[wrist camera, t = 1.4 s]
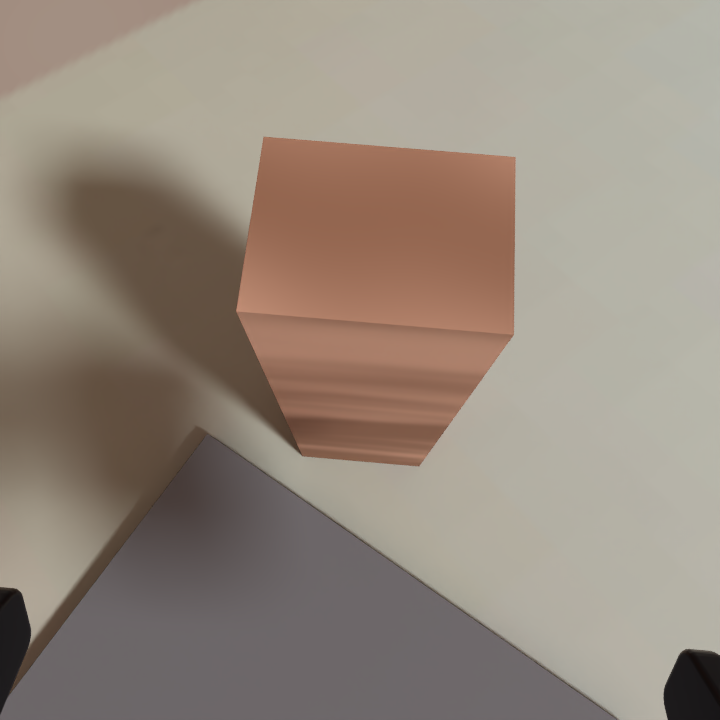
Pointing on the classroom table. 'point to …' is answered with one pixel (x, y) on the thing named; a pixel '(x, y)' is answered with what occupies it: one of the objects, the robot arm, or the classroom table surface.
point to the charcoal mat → (272, 624)
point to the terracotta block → (377, 290)
